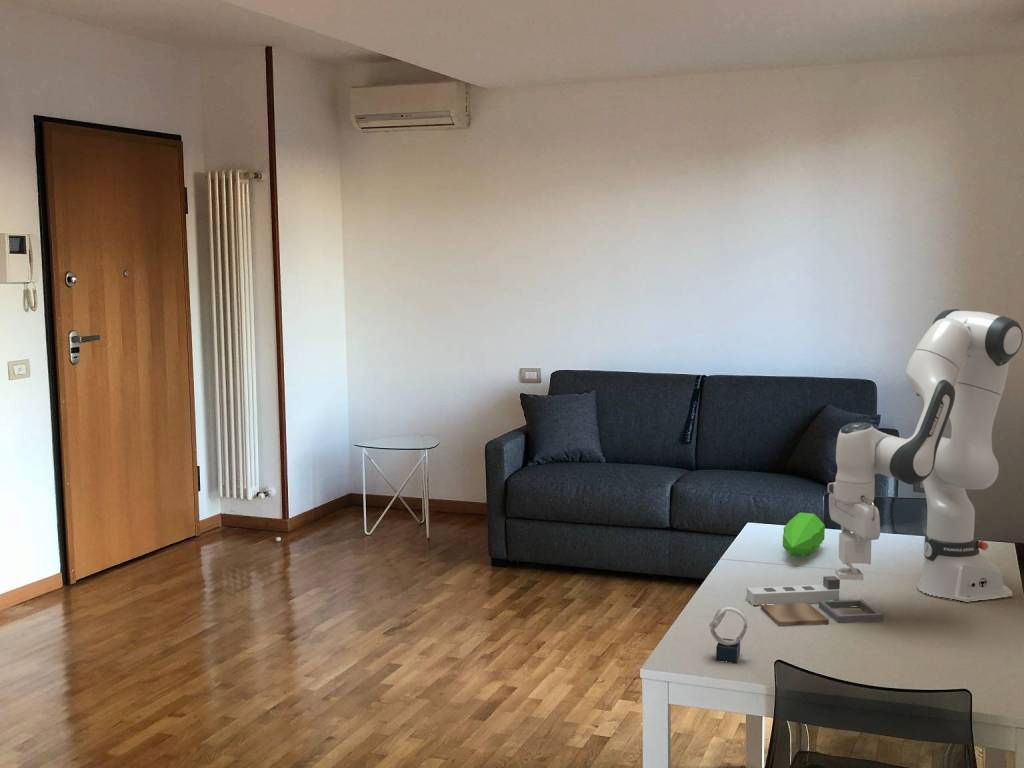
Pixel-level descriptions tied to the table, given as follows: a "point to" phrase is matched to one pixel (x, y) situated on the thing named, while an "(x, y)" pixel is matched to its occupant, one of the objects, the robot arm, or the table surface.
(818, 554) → the table surface
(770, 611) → the walnut pad
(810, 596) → the power strip
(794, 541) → the green faceted elongated piece
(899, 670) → the table surface
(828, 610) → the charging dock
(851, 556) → the security camera
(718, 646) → the watch
